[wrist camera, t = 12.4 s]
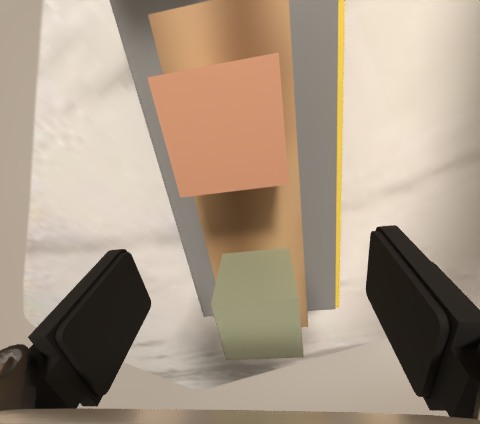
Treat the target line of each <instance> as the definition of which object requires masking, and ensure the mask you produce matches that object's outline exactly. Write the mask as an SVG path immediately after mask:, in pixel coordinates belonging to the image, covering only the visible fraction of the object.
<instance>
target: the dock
mask: <svg viewBox="0 0 480 424" xmlns="http://www.w3.org/2000/svg"><path fill="white" fill-rule="evenodd" d="M205 1H210V0H110V3H111V6H112V10H113V13H114V16H115V20H116V23H117V27H118V30H119V33H120V37H121V40H122V43H123V47H124V50H125V53H126V57H127V60H128V63H129V67H130V70H131V74H132V77H133V80H134V84H135V87H136V90H137V94H138V97H139V100H140V104H141V107H142V110H143V114H144V117H145V121H146V124H147V127H148V131H149V134H150V137H151V141H152V144H153V147H154V151H155V154H156V158H157V161H158V164H159V168H160V171H161V174H162V178H163V181H164V184H165V188H166V191H167V194H168V198H169V201H170V205H171V208H172V211H173V215H174V218H175V221H176V225H177V228H178V231H179V235H180V238H181V241H182V245H183V248H184V252H185V255H186V258H187V262H188V265H189V268H190V272H191V275H192V278H193V282H194V285H195V288H196V292H197V295H198V299H199V302H200V305H201V309H202V312H203V315H204V317H206V316H214V313H213V310H212V306H211V301H212V297H213V293H214V288H215V284H216V281H215V277H214V273H213V269H212V265H211V262H210V258H209V254H208V250H207V246H206V242H205V238H204V234H203V230H202V226H201V222H200V218H199V214H198V210H197V206H196V202H195V198H194V196H190V197H182V198H180V195H179V191H178V187H177V184H176V180H175V176H174V173H173V169H172V165H171V162H170V158H169V155H168V151H167V147H166V144H165V140H164V136H163V133H162V129H161V126H160V122H159V118H158V115H157V111H156V107H155V104H154V100H153V96H152V93H151V89H150V86H149V82H148V78H147V77H152V76H157V75H163V72H162V68H161V64H160V60H159V56H158V52H157V48H156V44H155V40H154V37H153V33H152V29H151V25H150V21H149V17H148V15H149V14H153V13H157V12H162V11H166V10H170V9H175V8H179V7H184V6H188V5H192V4H197V3H201V2H205ZM289 11H290V28H291V45H292V62H293V79H294V96H295V113H296V130H297V147H298V163H299V180H300V197H301V214H302V231H303V248H304V265H305V282H306V299H307V311H312V310H329V309H335V307H339V289H340V234H341V178H342V123H343V67H344V12H345V0H289Z"/></svg>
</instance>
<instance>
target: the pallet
mask: <svg viewBox="0 0 480 424" xmlns="http://www.w3.org/2000/svg"><path fill="white" fill-rule="evenodd" d="M148 17H149V21H150V25H151V29H152V33H153V37H154V40H155V44H156V48H157V52H158V56H159V60H160V64H161V68H162V72H163V74H168V73H173V72H178V71H184V70H189V69H194V68H199V67H205V66H210V65H215V64H220V63H226V62H231V61H236V60H242V59H247V58H252V57H257V56H263V55H268V54H273V53H278V52H279V62H280V75H281V88H282V102H283V115H284V128H285V142H286V155H287V168H288V181H289V185H281V186H273V187H264V188H256V189H248V190H240V191H231V192H223V193H215V194H207V195H199V196H194V198H195V202H196V206H197V210H198V214H199V218H200V222H201V226H202V230H203V234H204V238H205V242H206V246H207V250H208V254H209V258H210V262H211V265H212V269H213V273H214V277H215V281H216V280H217V275H218V271H219V267H220V262H221V258H222V254H226V253H236V252H247V251H258V250H268V249H279V248H289V251H290V256H291V261H292V266H293V272H294V277H295V282H296V287H297V292H298V298H299V309H300V322H301V327H308V316H307V299H306V282H305V265H304V248H303V231H302V214H301V197H300V180H299V163H298V147H297V130H296V113H295V96H294V79H293V62H292V45H291V28H290V11H289V0H210V1H205V2H201V3H197V4H192V5H188V6H184V7H179V8H175V9H170V10H166V11H162V12H157V13H153V14H149V15H148Z"/></svg>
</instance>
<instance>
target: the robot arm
mask: <svg viewBox="0 0 480 424" xmlns="http://www.w3.org/2000/svg"><path fill="white" fill-rule="evenodd" d="M366 293H367V297H368V299H369V301H370V303H371V305H372V307H373V309H374V311H375V313H376V315H377V317H378V319H379V321H380V323H381V325H382V327H383V329H384V331H385V333H386V336H387V338H388V340H389V342H390V343H391V345H392V348H393V350H394V352H395V354H396V356H397V358H398V360H399V362H400V364H401V365H402V367H403V370H404V372H405V374H406V376H407V378H408V380H409V382H410V384H411V386H412V388H413V390H414V392H415V393H416V395H417V396H419V397H423V398H424V400H425V401H426V404H427V405H428V408H429V409H430V410H446V411H447V412H448V415H449V416H450V417H445V416H433V415H410V414H384V413H358V412H305V411H304V412H303V411H251V410H177V409H174V410H171V409H76V408H77V407H78V405H79V403H81V405H82V406H98V404H99V402H100V400H101V398H102V396H103V395H105V394H106V393H107V392H108V390H109V389H110V387H111V385H112V383H113V381H114V379H115V377H116V375H117V373H118V371H119V369H120V367H121V365H122V363H123V361H124V359H125V357H126V355H127V353H128V351H129V349H130V347H131V345H132V343H133V341H134V339H135V337H136V335H137V333H138V332H139V330H140V328H141V326H142V324H143V322H144V320H145V318H146V316H147V314H148V312H149V310H150V307H151V300H150V297H149V295H148V292H147V290H146V288H145V285H144V283H143V281H142V278H141V276H140V274H139V271H138V269H137V267H136V264H135V262H134V260H133V257H132V255H131V254H130V253H129V252H127V251H126V250H125V249H119V250H110V251H108V252H107V253H106V254H105V255H104V256H103V257H102V259H101V260H100V261H99V262H98V263H97V264H96V265H95V266H94V267H93V268H92V269H91V270H90V271H89V272H88V274H87V275H86V276H85V277H84V278H83V279H82V280H81V281H80V282H79V283H78V284H77V285H76V286H75V287H74V288H73V290H72V291H71V292H70V293H69V294H68V295H67V296H66V297H65V298H64V299H63V300H62V301H61V302H60V303H59V305H58V306H57V307H56V308H55V309H54V310H53V311H52V312H51V313H50V314H49V315H48V316H47V317H46V318H45V319H44V321H43V322H42V323H41V324H40V325H39V326H38V327H37V328H36V329H35V330H34V331H33V333H32V334H31V335H30V336H29V337H28V338H29V339H30V340H31V342H32V343H33V345H32V346H31V347H30V348H29V349H28V347H26V346H25V345H23V344H17V345H12V346H9V347H7V348H5V349H2V350H0V424H480V310H479V309H478V308H477V307H476V306H475V305H474V304H473V303H472V302H471V301H470V300H469V298H468V297H467V296H466V295H465V294H464V293H463V292H462V291H461V290H460V289H459V288H458V287H457V286H456V285H455V284H454V283H453V282H452V281H451V280H450V279H449V278H448V277H447V276H446V275H445V274H444V273H443V272H442V271H441V269H440V268H439V267H438V266H437V265H436V264H434V263H433V262H431V261H430V260H429V259H428V258H427V257H426V256H425V255H424V254H423V253H422V252H421V251H420V250H419V249H418V248H417V247H416V245H415V244H414V243H413V242H412V241H411V240H410V239H409V238H408V237H407V236H406V235H405V234H404V233H403V232H402V231H401V230H400V229H399V228H398V227H397V226H395V225H393V226H382V227H377V228H376V231H372V232H371V236H370V247H369V259H368V270H367V281H366Z"/></svg>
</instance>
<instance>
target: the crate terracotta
mask: <svg viewBox="0 0 480 424" xmlns="http://www.w3.org/2000/svg"><path fill="white" fill-rule="evenodd" d="M147 78H148V82H149V86H150V89H151V93H152V96H153V100H154V104H155V107H156V111H157V115H158V118H159V122H160V126H161V129H162V133H163V136H164V140H165V144H166V147H167V151H168V155H169V158H170V162H171V165H172V169H173V173H174V176H175V180H176V184H177V187H178V191H179V195H180V198H182V197H190V196H199V195H207V194H215V193H223V192H231V191H240V190H248V189H256V188H264V187H273V186H281V185H289V181H288V168H287V155H286V142H285V128H284V115H283V102H282V88H281V75H280V62H279V52H278V53H273V54H268V55H263V56H257V57H252V58H247V59H242V60H236V61H231V62H226V63H220V64H215V65H210V66H205V67H199V68H194V69H189V70H184V71H178V72H173V73H168V74H163V75H157V76H152V77H147Z"/></svg>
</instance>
